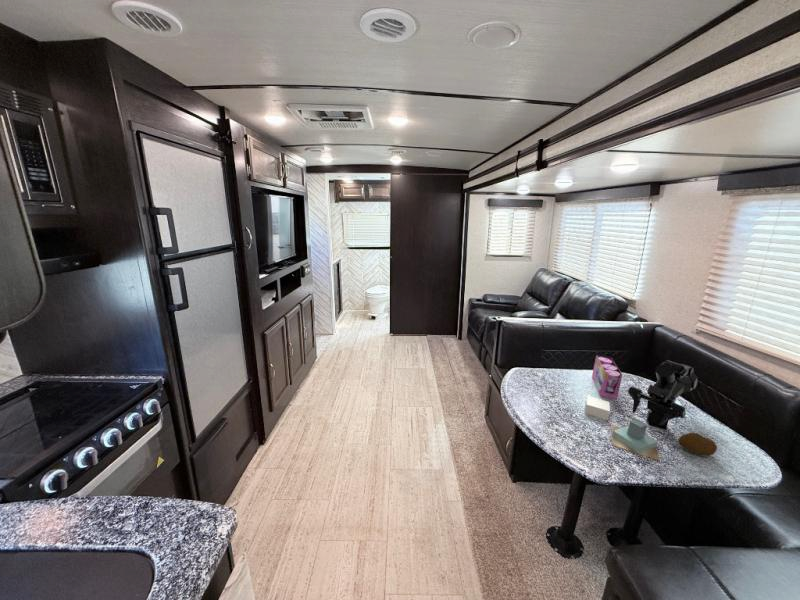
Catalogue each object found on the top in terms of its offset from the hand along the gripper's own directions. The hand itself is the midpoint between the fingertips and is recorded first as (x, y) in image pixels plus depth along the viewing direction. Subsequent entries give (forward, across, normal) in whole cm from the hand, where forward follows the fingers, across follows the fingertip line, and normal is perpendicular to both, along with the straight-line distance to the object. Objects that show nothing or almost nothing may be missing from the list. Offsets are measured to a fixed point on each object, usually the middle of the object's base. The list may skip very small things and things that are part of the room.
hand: (646, 418), depth 128 cm
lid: (+11, 0, 0) cm, 11 cm away
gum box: (-15, -28, +27) cm, 42 cm away
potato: (+1, +15, +12) cm, 19 cm away
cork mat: (+11, 0, +1) cm, 11 cm away
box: (+5, -19, +7) cm, 20 cm away
